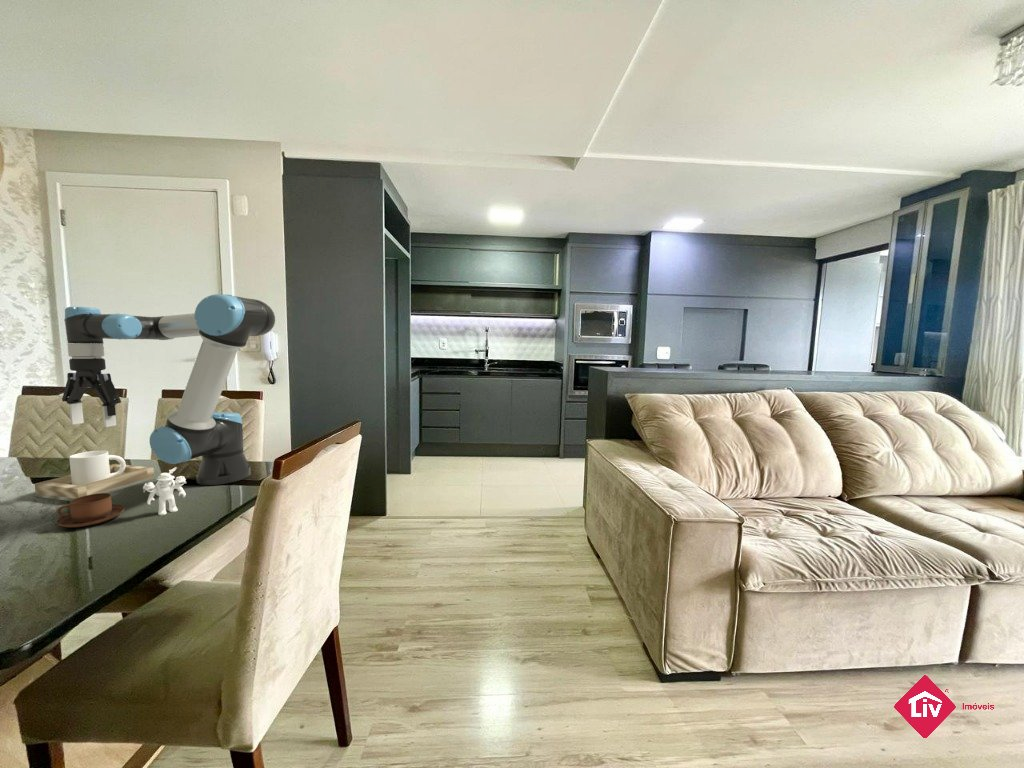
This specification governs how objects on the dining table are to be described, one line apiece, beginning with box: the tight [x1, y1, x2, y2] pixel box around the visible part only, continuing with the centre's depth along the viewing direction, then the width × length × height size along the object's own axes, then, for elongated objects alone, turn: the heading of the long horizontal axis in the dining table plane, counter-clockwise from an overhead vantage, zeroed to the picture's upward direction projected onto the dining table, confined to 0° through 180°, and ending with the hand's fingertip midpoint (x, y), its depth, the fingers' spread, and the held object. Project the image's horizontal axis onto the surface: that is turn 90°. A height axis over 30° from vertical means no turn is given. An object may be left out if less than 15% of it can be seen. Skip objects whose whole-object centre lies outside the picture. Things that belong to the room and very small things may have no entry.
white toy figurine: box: [142, 466, 187, 516], centre depth 106 cm, size 9×4×12 cm, turn 144°
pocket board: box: [34, 463, 156, 502], centre depth 123 cm, size 17×20×4 cm
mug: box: [69, 450, 127, 486], centre depth 123 cm, size 12×8×10 cm
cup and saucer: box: [55, 493, 125, 528], centre depth 101 cm, size 12×12×6 cm
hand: (93, 425), depth 122 cm, fingers open, 13 cm apart
